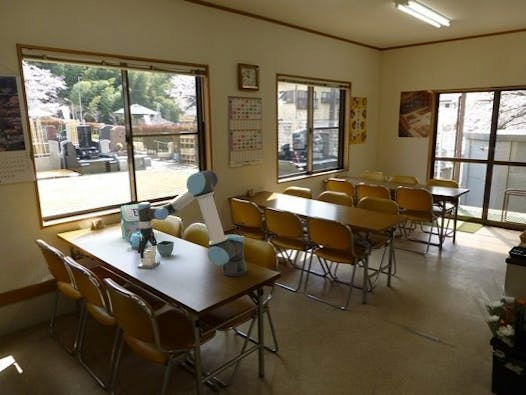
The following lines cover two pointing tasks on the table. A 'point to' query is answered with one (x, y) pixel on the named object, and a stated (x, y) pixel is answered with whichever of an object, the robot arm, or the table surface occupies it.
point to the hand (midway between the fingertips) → (148, 259)
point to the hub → (149, 265)
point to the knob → (149, 260)
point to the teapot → (135, 240)
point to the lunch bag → (129, 220)
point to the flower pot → (165, 248)
